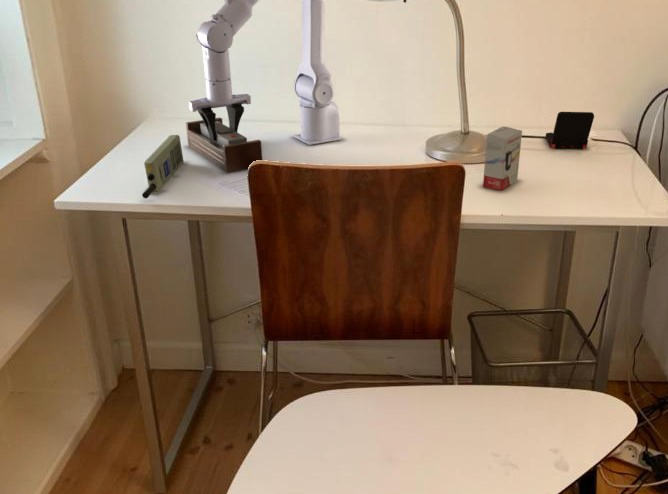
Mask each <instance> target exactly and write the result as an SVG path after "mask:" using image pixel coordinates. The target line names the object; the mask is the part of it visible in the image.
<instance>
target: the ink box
mask: <svg viewBox="0 0 668 494" xmlns="http://www.w3.org/2000/svg"><path fill="white" fill-rule="evenodd" d="M522 135H523V130H521V129H517V128H512V127H508V126H500V127H498V128H497V129H495V130H492V131H490V132H489V133H487V135H486V142H485V143H486V145H485V155H484V156H485V158H484V169H483V180H482V181H483V182H482V187H483V188H486V189H490V190H496V191H500V192H501V191H502V192H503V191H505V190H506V189H507V188H508V187H510V186H511V185H513V184H514V183H516V182H518V175H519V167H520V166H519V165H520V158H521V157H520V156H521V146H522V137H523V136H522Z"/></svg>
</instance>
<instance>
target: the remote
mask: <svg viewBox="0 0 668 494" xmlns="http://www.w3.org/2000/svg"><path fill="white" fill-rule="evenodd" d="M200 127H201V135H202V136H203V137H205V138H206V139H208V140H210V141H211V142H213V143H214V144H216V145H218V146H219V147H221V148H222V149H223V146H224V145H230V144H236V143H242V142H248V138H247V137H246V136H245V135H243V134H241V133H239V132H238V131H237V132H236V131H234V130H232V129H231V128H229V126H228V125H225V124H224V123H223V124H222V123H220V122H219V121H215V129H216V141H213V140H211V139H210V136H209V133H208V130H207V127H206V125H205V123H201V124H200Z"/></svg>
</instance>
